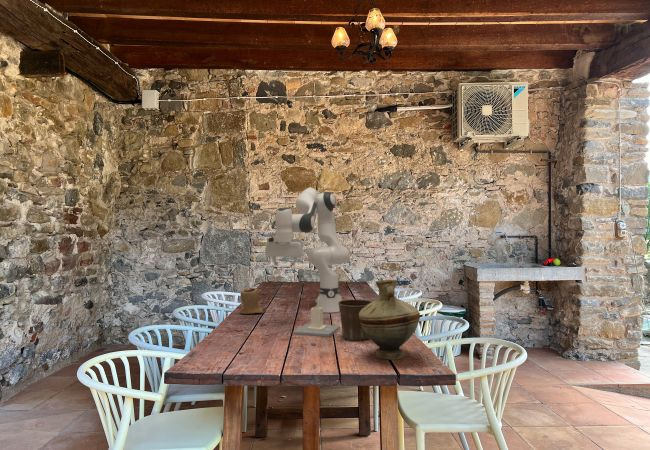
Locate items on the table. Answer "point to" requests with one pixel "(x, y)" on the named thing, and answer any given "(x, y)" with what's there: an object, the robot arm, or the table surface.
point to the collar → (317, 319)
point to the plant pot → (352, 319)
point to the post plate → (325, 333)
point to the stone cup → (251, 302)
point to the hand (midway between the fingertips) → (284, 265)
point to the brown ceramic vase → (389, 321)
